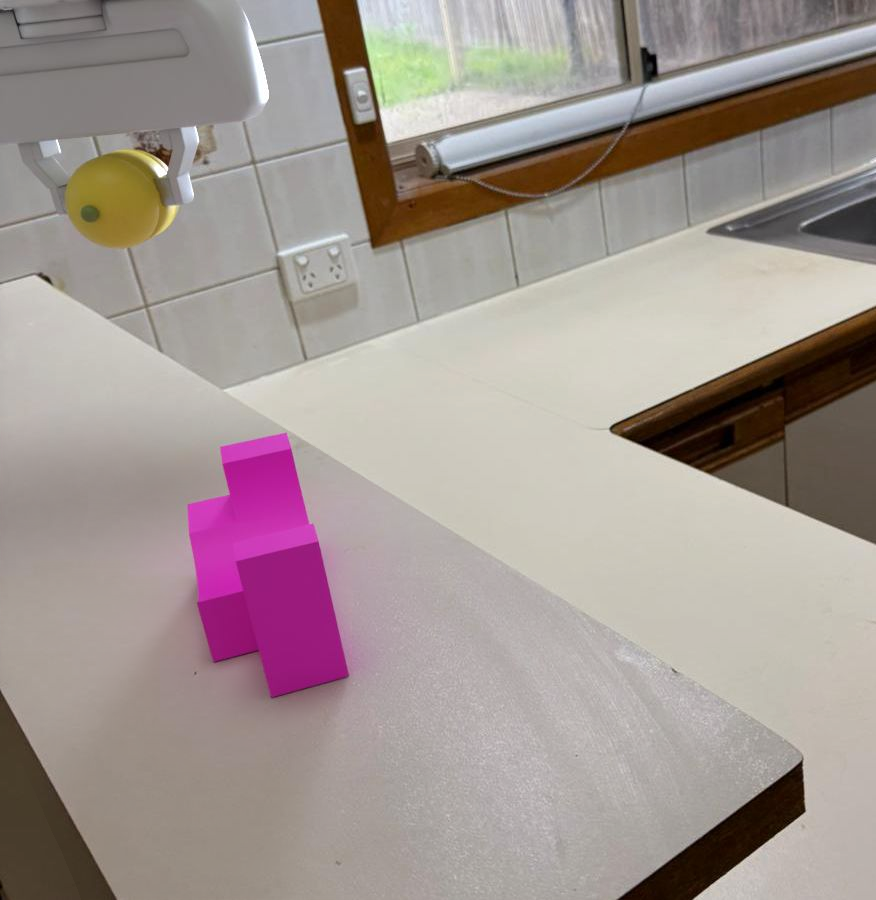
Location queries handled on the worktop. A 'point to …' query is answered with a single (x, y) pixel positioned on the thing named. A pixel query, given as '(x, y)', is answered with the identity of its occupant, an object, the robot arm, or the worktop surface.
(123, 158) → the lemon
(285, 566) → the toy block
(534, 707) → the worktop surface
